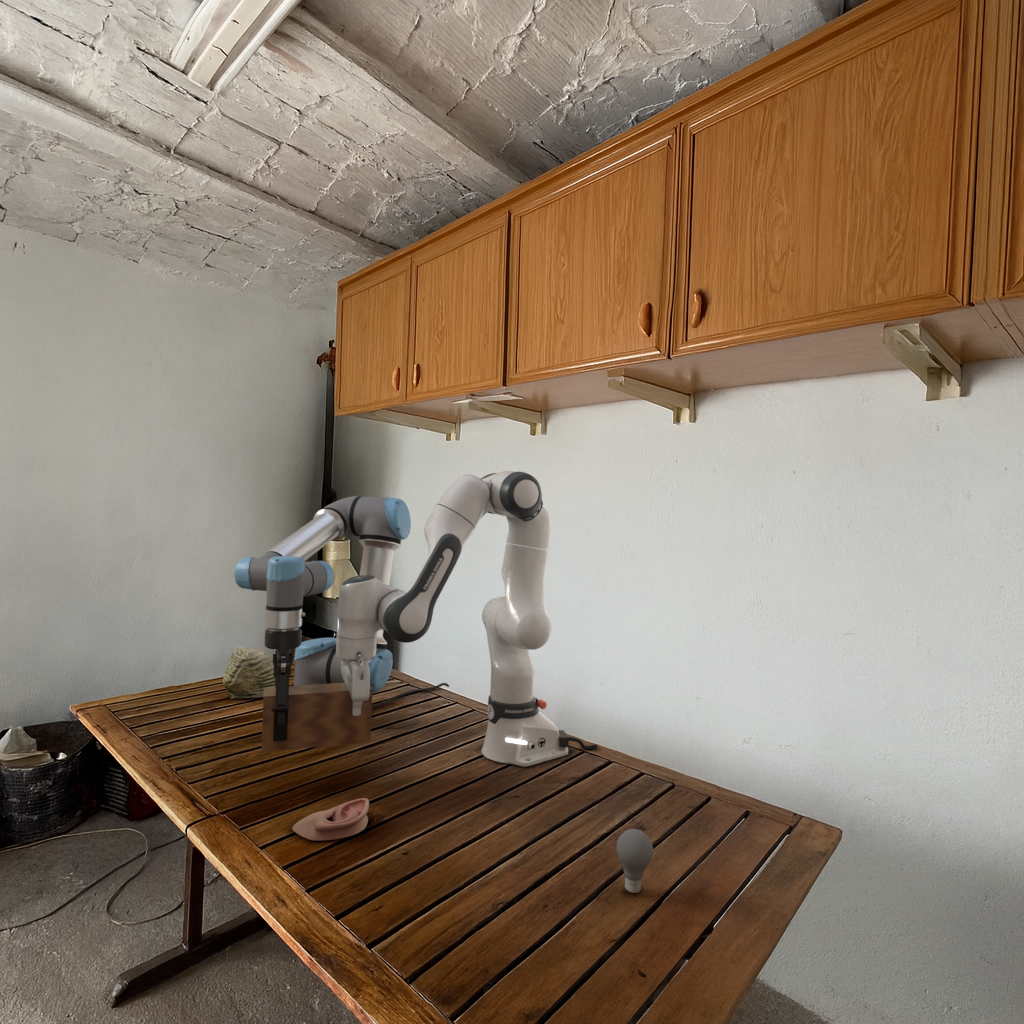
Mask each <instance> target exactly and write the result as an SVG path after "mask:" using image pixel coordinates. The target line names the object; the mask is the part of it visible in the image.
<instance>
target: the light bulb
mask: <svg viewBox="0 0 1024 1024" xmlns="http://www.w3.org/2000/svg"><path fill="white" fill-rule="evenodd" d="M615 849H616V854H617V857H618V859H619V861H620V863H621V865H622V867H623V873H624V874H623V875H624V876H625V878H624V888H625V890H627V891H628V892H630V893H634V894H635V893H639V892H640V891H641V889H642V887H641V886H642V879H643V877H644V875H645V871H646V868H647V867H648V866H649V864H650V863H651V861H652V859H653V855H654V847H653V843H652V841H651V838H649V836H648V835H647V834H646V833H645V832H643V831H642V830H641V829H636V828H629V829H627V830H625V831H623V832H622V833H621V834H620V835H619V837H618V839H617V841H616V847H615Z"/></svg>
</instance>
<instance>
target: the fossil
mask: <svg viewBox="0 0 1024 1024" xmlns="http://www.w3.org/2000/svg"><path fill="white" fill-rule="evenodd" d="M222 676H223V677H222V685H223V687H224V688H225V690H226V691H228V693H229V698H230V699H250V698H263V695H264V688H266V687H275V677H274V665H273V658H271V657H270V656H269V655H268V654H267V653H266V652H265V650H264V649H263V648H260V647H258V648H251V647H247V646H246V647H245V646H238V647H237V648H236V649H235V650H233V651H232V653H231V656H230V657H229V659H228V660H227V663H226V666H225V668H224V671H223V675H222Z"/></svg>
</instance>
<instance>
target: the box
mask: <svg viewBox="0 0 1024 1024" xmlns="http://www.w3.org/2000/svg"><path fill="white" fill-rule="evenodd" d="M372 691H373V689H372V687H371V686H370V694H369V699H368V700H367V701H363V702H362V706H361V714H360V715H358V716H354V715H353V714H352V704H353V701H352V699H351V696H350V694H349V691H348V688H347V686H346V684H345V683H331V684H315V685H299V686H294V685H289V697H288V706H289V708H288V726H287V740H284V741H273V735H274V711H273V712H271V710H272V709H273V708H275V703H276V687H266V688H264V695H263V697H262V698H263V699H262V722H261V723H262V726H261V727H262V728H261V753H269V752H280V751H281V752H282V751H291V750H292V751H293V750H301V749H303V750H304V749H311V748H312V749H313V748H320V747H322V748H323V747H333V746H343V745H353V744H364V743H371V740H372V739H371V738H372V737H371V736H372V713H373V712H372V711H373V708H372V705H373V693H372Z"/></svg>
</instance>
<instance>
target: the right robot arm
mask: <svg viewBox="0 0 1024 1024" xmlns="http://www.w3.org/2000/svg"><path fill="white" fill-rule="evenodd" d="M486 514H490V515H497V516H504V517H506V521H507V523H508V533H507V537H506V543H505V548H504V554H503V559H502V560H503V561H502V565H501V566H502V567H501V578H502V580H503V585H504V596H496V597H493V598H491V599H489V600H488V601H487V602H486V603H485V604H484V606H483V608H482V611H481V612H482V613H481V620H482V623H483V626H484V628H485V631H486V638H487V645H488V652H489V658H490V687H489V688H490V689H489V692H490V693H489V695H488V700H487V727H486V732H485V737H484V741H483V744H482V747H481V749H480V752H481V754H482V756H483V757H485V758H486V759H488V760H490V761H494V762H496V763H502V764H509V765H516V766H519V767H525V768H527V767H531V766H534V765H537V764H541V763H545V762H547V761H551V760H554V759H557V758H562V757H564V756H568V755H569V745H570V742H576V743H578V744H579V746H580V747H581V748H582V749H584V750H593V749H598V744H591V745H586V744H584V742H583V740H581V739H579V738H577V737H574V736H568V735H567V733H566V732H565V730H564V729H559V728H558V726H557V725H556V724H555V723H554V722H553V721H552V720H551V719H550V718H548V717H547V716H546V715H545V714H543V713H542V712H541V711H540V710H539V708H540V709H541V710H545V709H546V708H547V707H548V703H547V701H545V700H543V699H539V698H537V697H535V696H534V692H535V690H534V689H535V670H536V669H535V665H534V663H533V661H532V658H531V656H530V651H531V650H532V651H534V650H538V649H540V648H543V646H545V645H546V644H547V643H548V642H549V640H550V637H551V635H552V623H551V620H550V617H549V615H548V612H547V605H546V594H545V593H546V592H545V591H546V590H545V578H546V571H547V563H548V559H549V558H548V557H549V550H550V545H551V544H550V543H551V534H552V533H551V532H552V531H551V529H552V528H551V526H552V524H551V523H552V522H551V514H550V512H549V510H548V509H547V508H546V507H544V502H543V492H542V487H541V485H540V483H539V481H538V480H537V478H536V477H534V476H533V475H532V474H530V473H528V472H524V471H511V470H505V471H501V472H492V473H489V474H486V475H484V476H483V477H478V476H476V475H472V474H462V475H460V476H458V477H457V478H456V479H455V480H454V481H453V483H451V485H450V486H449V487H448V488H447V489H446V491H444V493H443V494H442V495H441V497H440V498H439V500H438V501H437V503H436V504H435V505H434V507H433V508H432V510H431V511H430V513H429V516H428V517H427V520H426V523H425V525H424V527H423V529H424V537H425V540H426V543H427V547H428V549H427V556H426V559H425V561H424V563H423V565H422V567H421V568H420V570H419V572H418V574H417V576H416V578H415V579H414V581H413V582H412V585H411V586H410V588H409V589H408V590H407V591H405V590H403V589H400V588H397V587H393V586H391V585H387V584H385V583H383V582H381V581H379V580H378V579H377V578H376V577H375V576H372V575H361V576H360V575H356V576H351V577H348V578H347V579H345V580H344V581H343V582H342V584H341V586H340V590H339V594H338V599H337V600H338V602H337V616H336V617H337V620H338V628H337V631H336V637H335V638H336V656H337V657H338V658H341V672H342V677H343V679H344V682H345V684H346V686H347V688H348V691H349V694H350V696H351V699H352V701H353V704H352V714H353V715H354V716H358V715H360V714H361V706H362V702H363V701H367V700H368V699H369V694H370V670H369V665H368V664H369V663H370V658H373V657H375V656H376V643H377V631H378V630H383V631H386V632H387V633H388V635H389V636H390V637H391V638H392V639H393V640H395V641H396V642H400V643H405V644H406V643H407V644H408V643H413V642H417V641H418V640H421V638H422V637H424V636H425V634H426V633H427V632H428V631H429V629H430V627H431V624H432V620H433V614H434V609H435V606H436V604H437V602H438V599H439V597H440V595H441V593H442V591H443V589H444V587H445V586H446V584H447V582H448V580H449V578H450V576H451V574H452V573H453V570H454V569H455V567H456V565H457V562H458V561H459V558H460V556H461V554H462V552H463V550H464V547H465V546H466V544H467V543H468V541H469V539H470V538H471V536H472V535H473V533H474V531H475V530H476V528H477V527H478V525H479V523H480V521H481V520H482V518H483V517H484V516H485V515H486Z"/></svg>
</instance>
